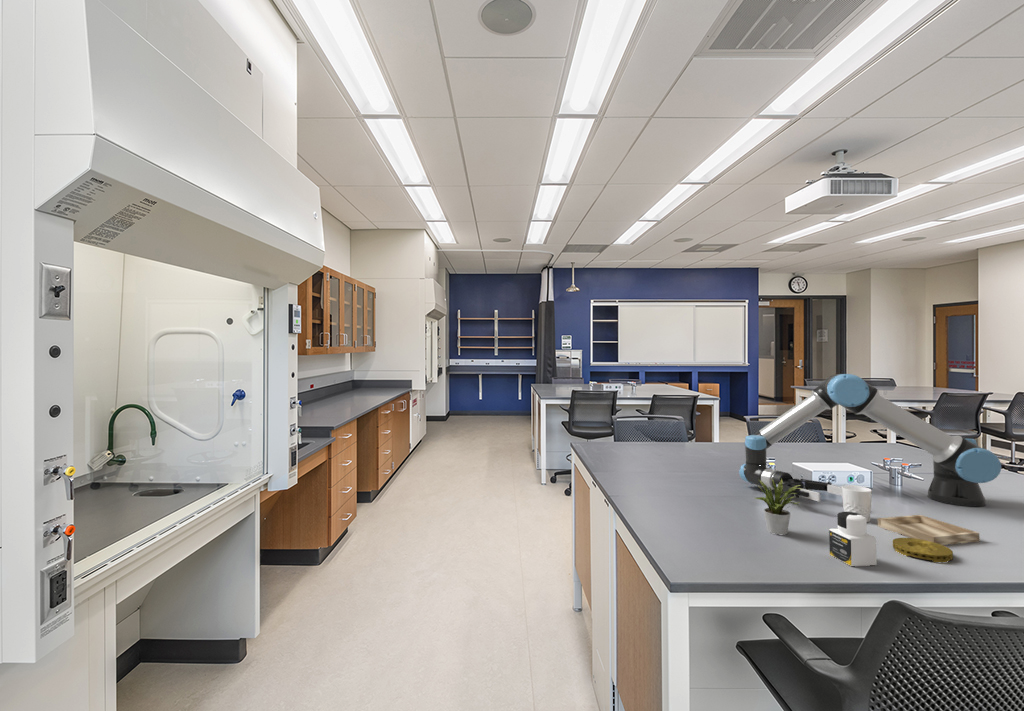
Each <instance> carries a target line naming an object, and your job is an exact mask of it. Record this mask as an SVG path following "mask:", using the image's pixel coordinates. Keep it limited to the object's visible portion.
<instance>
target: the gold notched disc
mask: <svg viewBox="0 0 1024 711" xmlns="http://www.w3.org/2000/svg"><path fill="white" fill-rule="evenodd" d="M892 547H893V549H894V551H895V552H896V551H897V553H898V552H899V553H898V554H900V553H901V554H900V555H902V554H903V555H902V556H904V555H906V556H905V557H914V558H917V559H922V560H928V561H931V560H932V561H933V563H935V562H947V561H952V560H953V558H954V553H953V550H952V549H950V548H949V547H947V546H946V545H940V544H937V543H934V542H930V541H926V540H921V539H915V538H909V537H897V538H894V539H893V540H892ZM932 561H931V562H932Z"/></svg>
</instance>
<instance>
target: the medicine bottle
mask: <svg viewBox="0 0 1024 711" xmlns="http://www.w3.org/2000/svg"><path fill="white" fill-rule="evenodd" d="M836 517H837V519H836V520H837V528H830V529H828V537H829V538H828V539H829V556H830V555H831V556H830V557H832V556H833V557H832V558H834V557H835V558H834V559H836V558H837V559H836V560H838V559H839V560H838V561H840V562H841V561H843V562H844V563H843V562H842V563H843V564H845V563H846V565H847V564H848V565H847V566H849V565H850V566H849V567H851V566H855V567H868V566H869V567H871V566H870V565H875V566H878V564H877V561H878V560H877V538H876V536H874V535H871V534H869V533H867V522H866V518H865V517H864V516H862V515H860V514H858V513H854V512H844V511H840V512H838V513H837V516H836Z"/></svg>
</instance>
